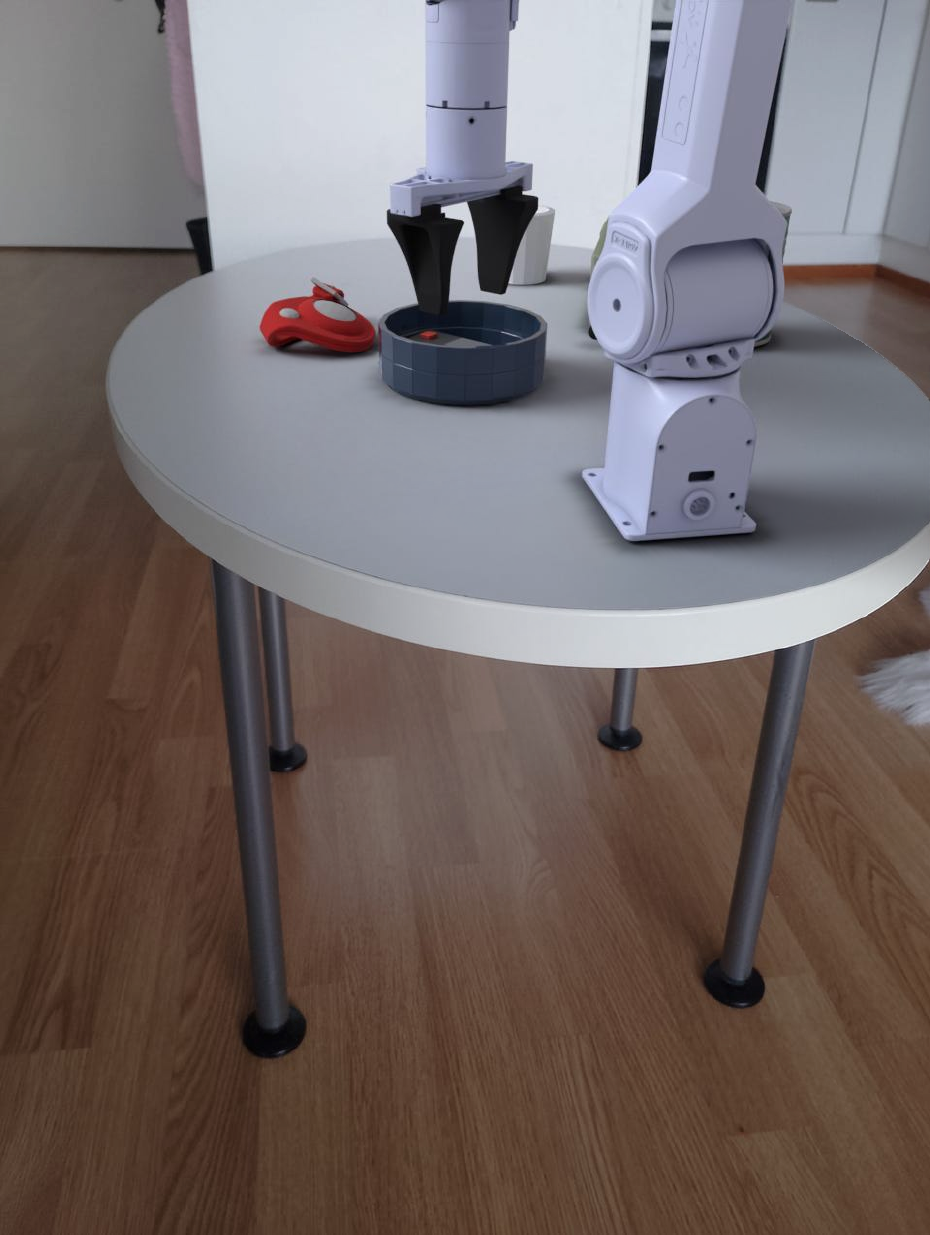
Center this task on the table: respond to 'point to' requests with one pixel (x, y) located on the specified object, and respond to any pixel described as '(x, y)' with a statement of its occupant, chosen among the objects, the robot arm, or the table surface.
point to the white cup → (534, 249)
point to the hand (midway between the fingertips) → (463, 301)
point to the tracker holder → (318, 321)
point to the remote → (445, 339)
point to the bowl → (463, 353)
